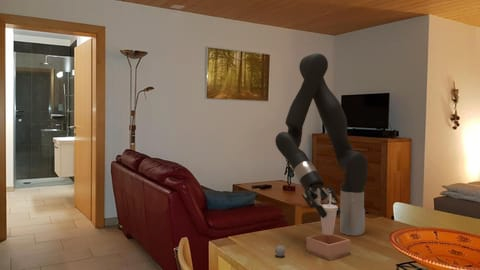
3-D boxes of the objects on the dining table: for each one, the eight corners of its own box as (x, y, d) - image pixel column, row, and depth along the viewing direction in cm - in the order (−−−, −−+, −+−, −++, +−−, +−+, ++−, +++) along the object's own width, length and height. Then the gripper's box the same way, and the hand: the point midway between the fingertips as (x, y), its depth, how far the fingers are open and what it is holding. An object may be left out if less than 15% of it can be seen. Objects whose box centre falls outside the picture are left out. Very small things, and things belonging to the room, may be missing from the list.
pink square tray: (327, 245, 145) (327, 232, 145) (350, 254, 137) (350, 239, 136) (306, 251, 139) (306, 237, 139) (329, 260, 130) (329, 245, 130)
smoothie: (337, 237, 134) (338, 196, 133) (318, 235, 135) (319, 194, 134) (336, 231, 140) (338, 192, 139) (318, 230, 141) (319, 191, 140)
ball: (280, 253, 137) (280, 243, 137) (287, 256, 134) (287, 246, 134) (272, 255, 135) (272, 245, 135) (279, 258, 132) (279, 248, 132)
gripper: (299, 171, 138) (323, 211, 129) (327, 168, 147) (352, 206, 138) (288, 184, 143) (311, 224, 134) (316, 180, 151) (339, 218, 142)
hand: (331, 215), depth 136 cm, fingers closed on smoothie, 6 cm apart
